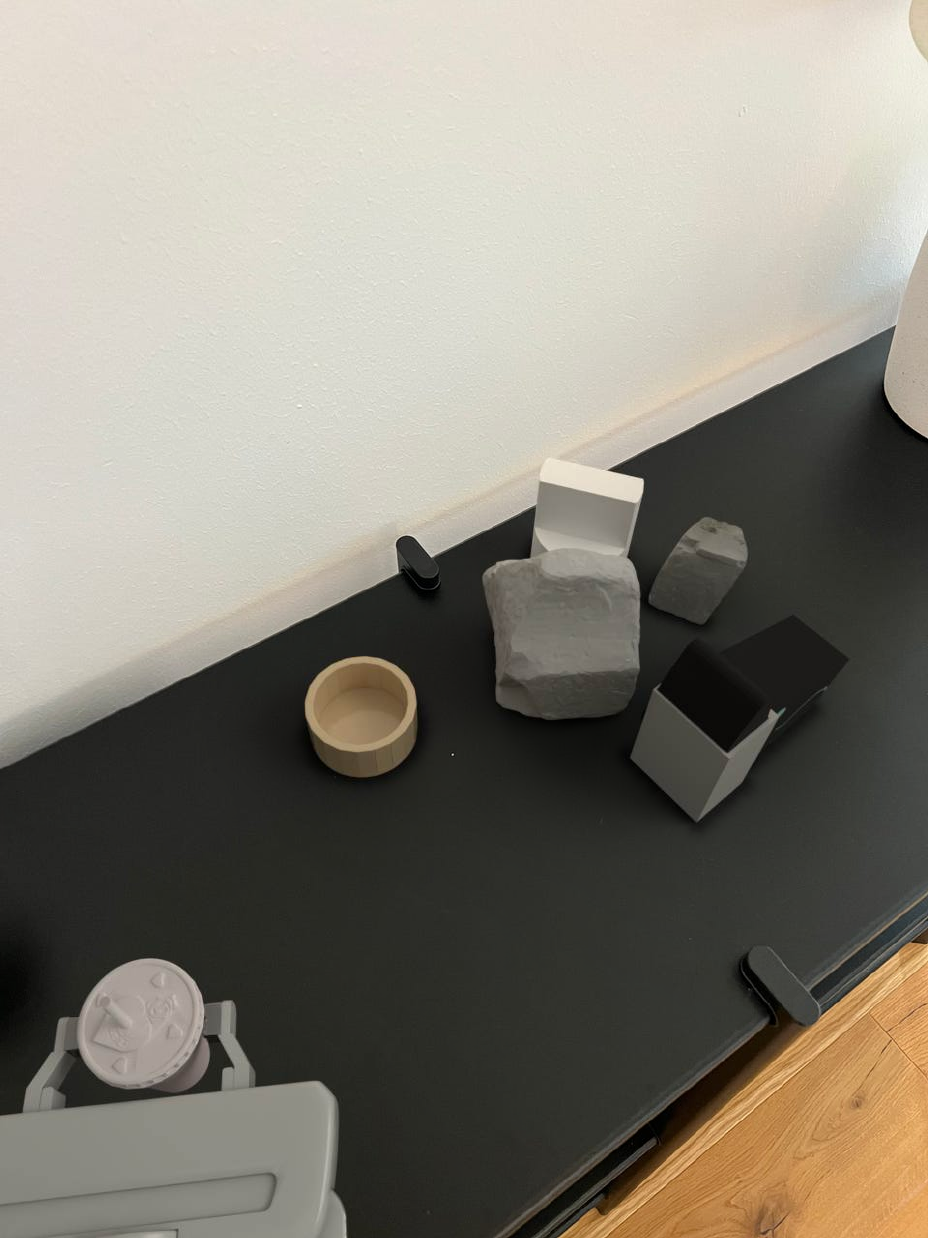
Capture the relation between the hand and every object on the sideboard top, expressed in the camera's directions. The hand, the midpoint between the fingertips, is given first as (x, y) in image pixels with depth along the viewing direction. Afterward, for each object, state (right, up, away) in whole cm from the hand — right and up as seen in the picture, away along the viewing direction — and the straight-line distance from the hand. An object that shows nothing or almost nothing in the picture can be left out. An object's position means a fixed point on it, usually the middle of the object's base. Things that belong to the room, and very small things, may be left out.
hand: (148, 1011), depth 52 cm
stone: (+25, +17, +33) cm, 45 cm away
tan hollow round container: (+9, +12, +29) cm, 33 cm away
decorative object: (+40, +12, +30) cm, 52 cm away
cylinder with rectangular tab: (+28, +26, +40) cm, 56 cm away
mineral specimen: (+39, +24, +39) cm, 60 cm away
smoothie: (0, -5, +6) cm, 8 cm away
